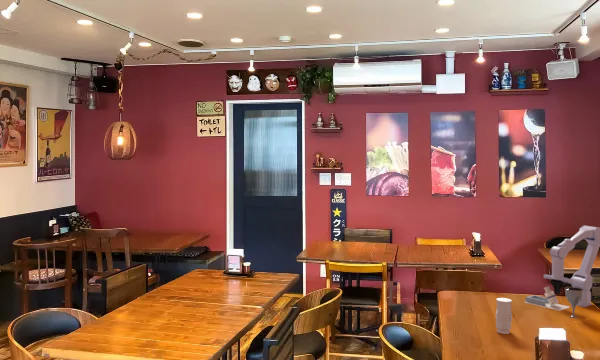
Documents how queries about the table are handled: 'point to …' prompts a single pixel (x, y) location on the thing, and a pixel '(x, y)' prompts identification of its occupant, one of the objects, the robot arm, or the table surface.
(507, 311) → the candle
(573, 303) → the wine glass
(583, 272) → the robot arm
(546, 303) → the cradle
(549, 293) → the bottle
